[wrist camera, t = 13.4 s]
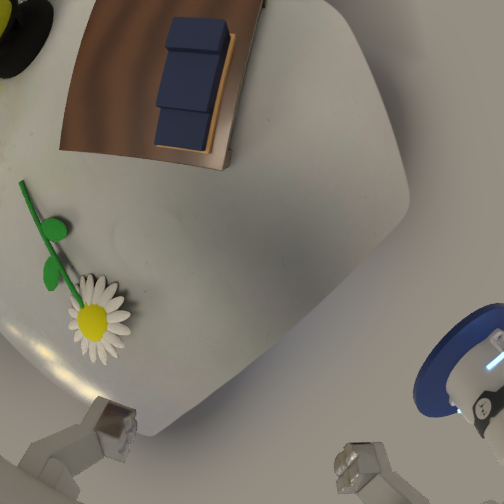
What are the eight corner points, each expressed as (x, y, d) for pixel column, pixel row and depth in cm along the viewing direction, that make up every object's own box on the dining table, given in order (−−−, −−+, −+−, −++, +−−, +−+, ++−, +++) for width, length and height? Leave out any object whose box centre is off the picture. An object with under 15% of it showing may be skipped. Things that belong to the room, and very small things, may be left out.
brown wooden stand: (268, -4, 26) (269, -29, 20) (229, 166, 33) (222, 170, 27) (127, -8, 25) (107, -28, 19) (87, 147, 33) (59, 150, 26)
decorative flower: (13, 205, 37) (100, 359, 42) (-6, 207, 32) (86, 374, 37) (56, 156, 35) (155, 330, 40) (36, 154, 31) (143, 346, 35)
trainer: (186, 33, 23) (171, 11, 17) (236, 38, 23) (231, 15, 17) (160, 146, 27) (138, 146, 21) (210, 153, 27) (198, 154, 21)
